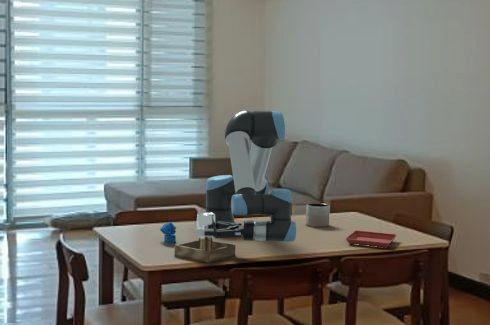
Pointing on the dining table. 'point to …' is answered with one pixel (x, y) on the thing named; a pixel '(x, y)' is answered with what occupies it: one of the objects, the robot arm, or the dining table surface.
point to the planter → (317, 214)
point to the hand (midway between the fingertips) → (196, 228)
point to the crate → (194, 253)
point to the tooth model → (205, 222)
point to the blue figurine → (169, 232)
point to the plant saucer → (370, 238)
